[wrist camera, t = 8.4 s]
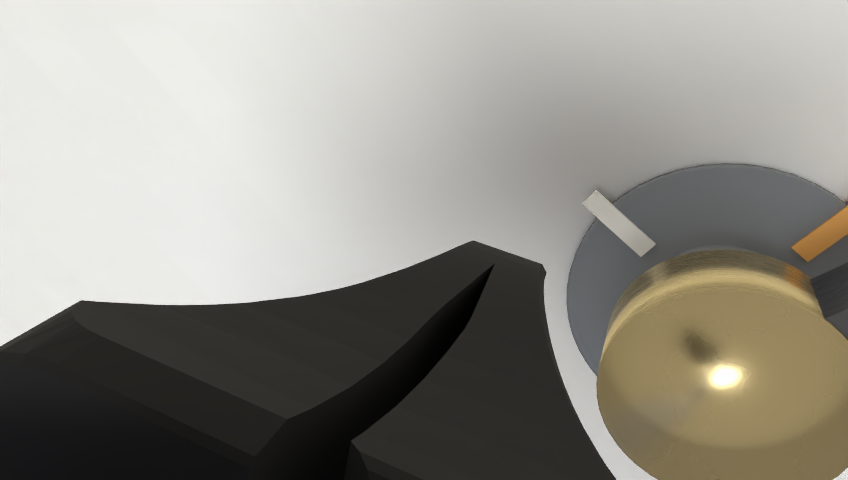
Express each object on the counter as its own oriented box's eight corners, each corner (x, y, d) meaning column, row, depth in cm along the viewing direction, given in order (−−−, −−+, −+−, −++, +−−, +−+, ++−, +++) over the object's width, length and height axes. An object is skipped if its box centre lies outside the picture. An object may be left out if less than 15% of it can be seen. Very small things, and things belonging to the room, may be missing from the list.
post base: (873, 446, 20) (894, 503, 18) (573, 411, 23) (562, 455, 21) (918, 159, 17) (950, 189, 14) (562, 166, 20) (547, 191, 18)
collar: (684, 468, 19) (683, 529, 17) (564, 313, 19) (549, 357, 17) (1222, 282, 13) (1320, 343, 11) (1070, 44, 13) (1143, 61, 11)
